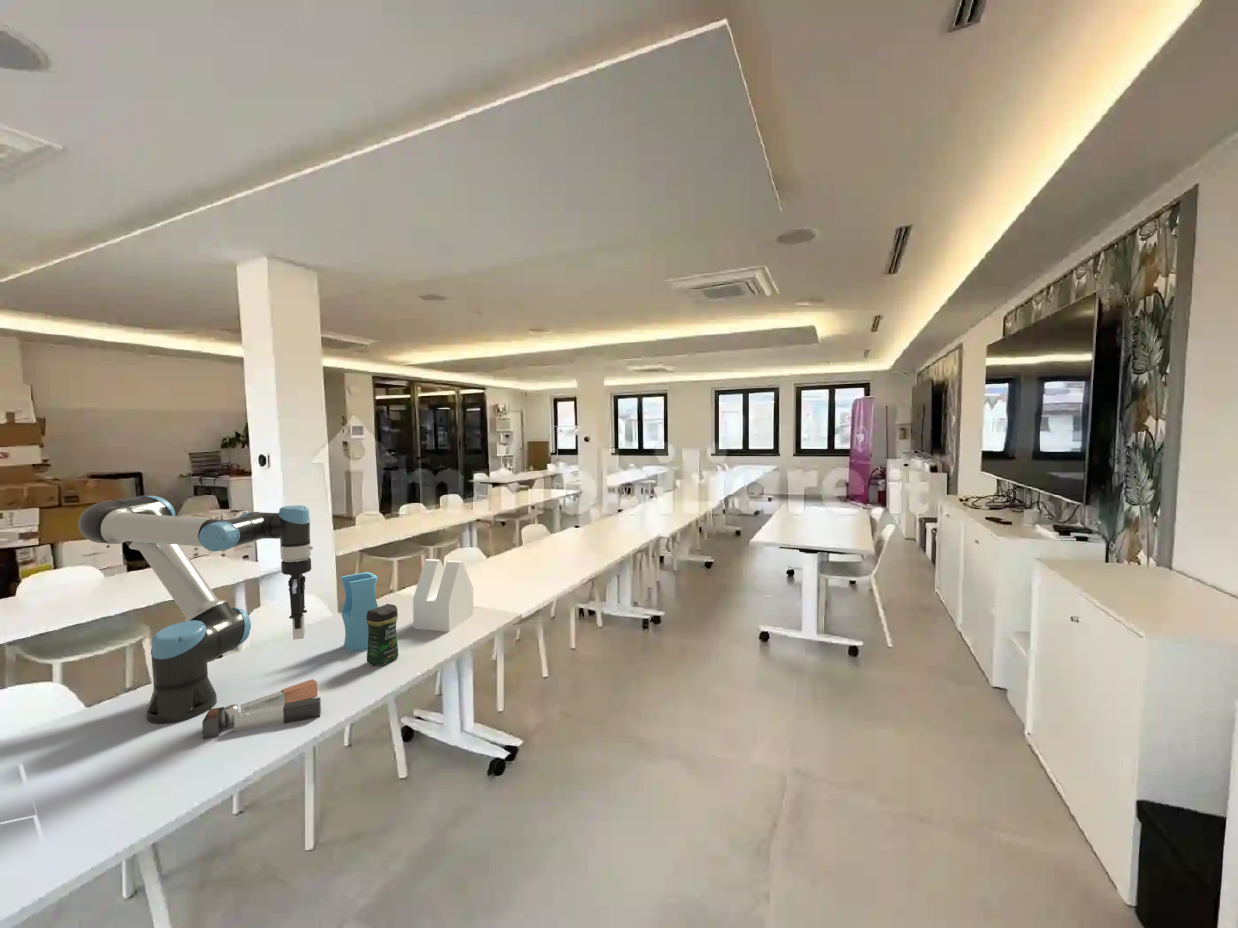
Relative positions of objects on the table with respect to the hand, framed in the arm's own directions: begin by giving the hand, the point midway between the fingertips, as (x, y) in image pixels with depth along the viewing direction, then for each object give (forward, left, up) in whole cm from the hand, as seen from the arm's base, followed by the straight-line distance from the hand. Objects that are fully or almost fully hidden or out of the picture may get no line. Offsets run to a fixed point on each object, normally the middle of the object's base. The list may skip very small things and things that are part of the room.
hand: (299, 637), depth 160 cm
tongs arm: (-6, -10, -16) cm, 20 cm away
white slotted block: (+46, +43, -17) cm, 65 cm away
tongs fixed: (-6, -17, -16) cm, 24 cm away
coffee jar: (+23, +13, -17) cm, 31 cm away
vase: (+16, +30, -17) cm, 38 cm away
